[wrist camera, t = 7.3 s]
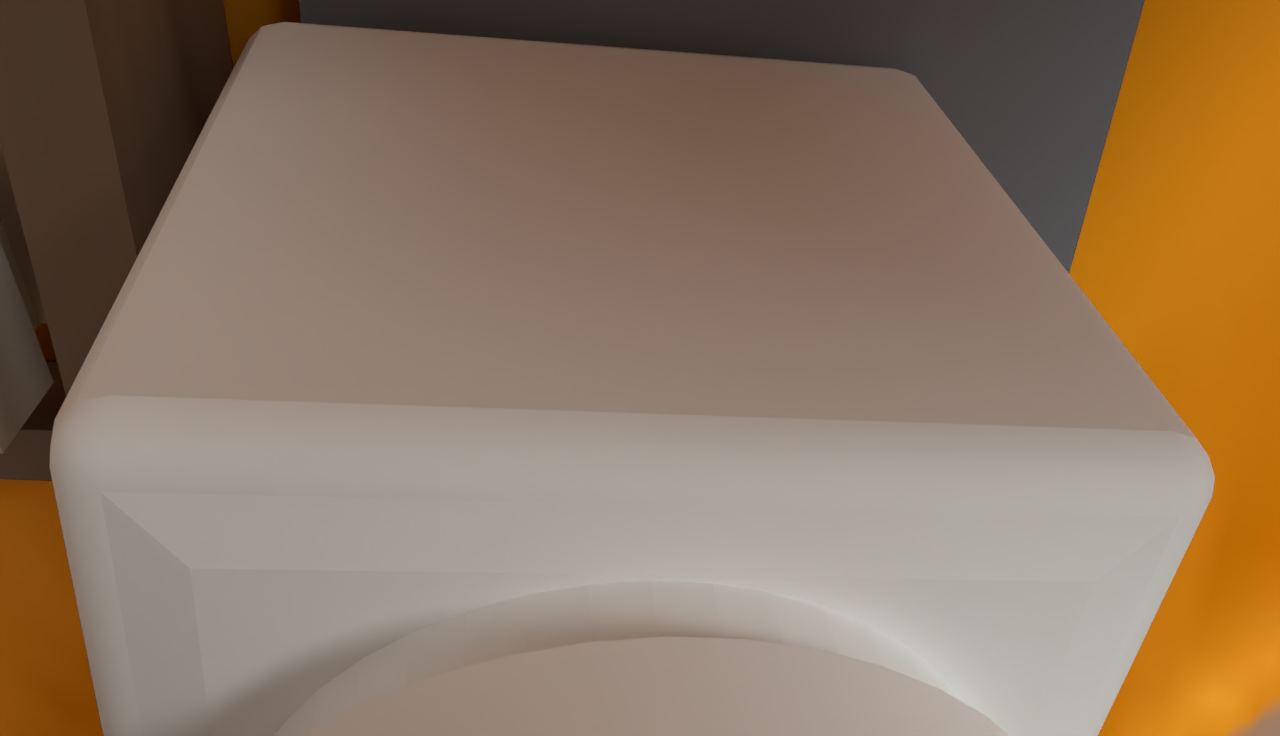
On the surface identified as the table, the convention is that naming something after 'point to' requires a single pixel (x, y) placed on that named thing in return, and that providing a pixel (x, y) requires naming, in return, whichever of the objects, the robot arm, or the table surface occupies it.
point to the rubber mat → (869, 64)
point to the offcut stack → (18, 322)
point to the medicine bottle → (605, 414)
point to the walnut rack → (96, 157)
